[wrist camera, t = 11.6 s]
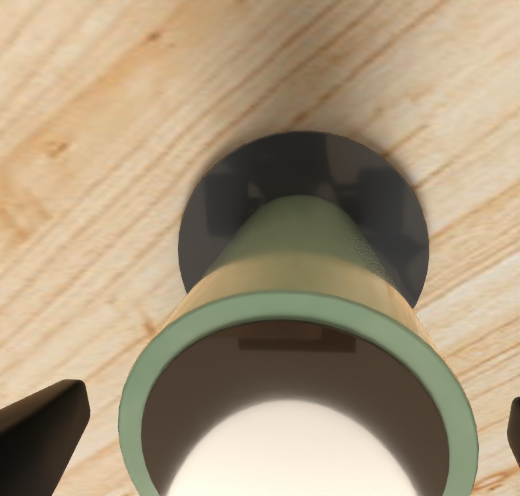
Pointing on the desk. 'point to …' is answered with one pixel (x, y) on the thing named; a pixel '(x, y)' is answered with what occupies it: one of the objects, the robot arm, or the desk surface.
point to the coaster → (313, 184)
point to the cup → (296, 375)
